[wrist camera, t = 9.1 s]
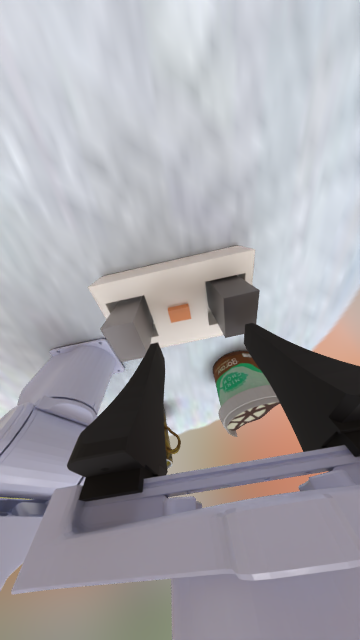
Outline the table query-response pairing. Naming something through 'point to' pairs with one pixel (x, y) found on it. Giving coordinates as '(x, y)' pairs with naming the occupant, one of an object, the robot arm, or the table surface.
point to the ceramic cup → (167, 444)
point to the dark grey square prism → (232, 304)
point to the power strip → (176, 292)
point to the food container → (241, 391)
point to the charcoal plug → (129, 328)
